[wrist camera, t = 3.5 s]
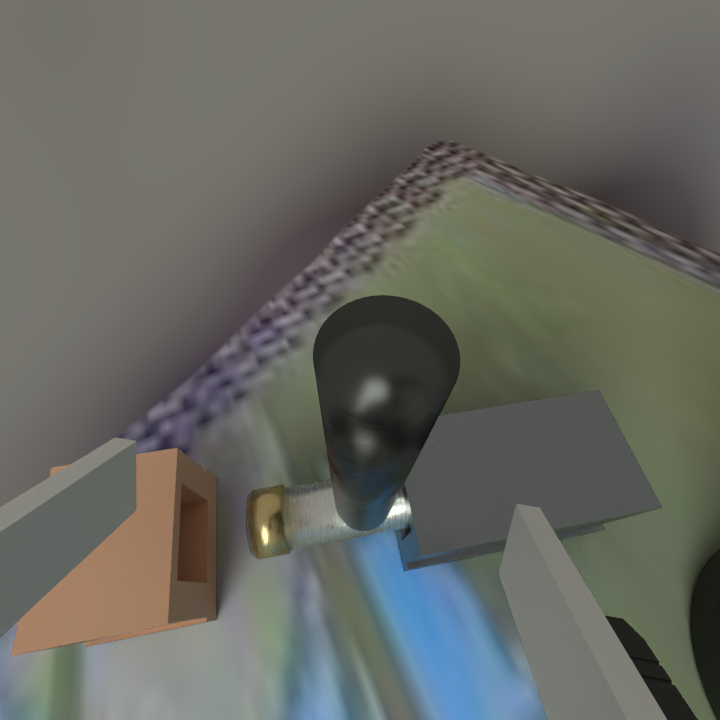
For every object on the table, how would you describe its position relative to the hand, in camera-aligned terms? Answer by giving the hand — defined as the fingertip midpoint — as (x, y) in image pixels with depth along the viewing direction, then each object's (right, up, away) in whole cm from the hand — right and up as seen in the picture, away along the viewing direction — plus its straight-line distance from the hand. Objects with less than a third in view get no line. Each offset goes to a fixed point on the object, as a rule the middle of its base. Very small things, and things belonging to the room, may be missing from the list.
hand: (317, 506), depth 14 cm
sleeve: (+9, -4, +13) cm, 16 cm away
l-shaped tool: (+6, -3, +10) cm, 12 cm away
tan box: (-10, -7, +10) cm, 16 cm away
